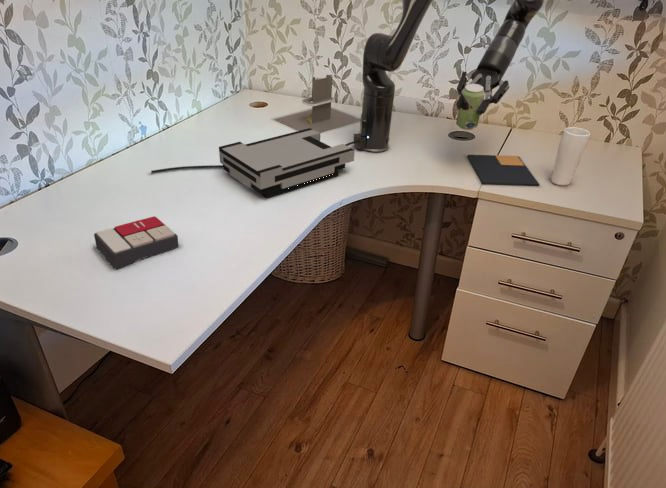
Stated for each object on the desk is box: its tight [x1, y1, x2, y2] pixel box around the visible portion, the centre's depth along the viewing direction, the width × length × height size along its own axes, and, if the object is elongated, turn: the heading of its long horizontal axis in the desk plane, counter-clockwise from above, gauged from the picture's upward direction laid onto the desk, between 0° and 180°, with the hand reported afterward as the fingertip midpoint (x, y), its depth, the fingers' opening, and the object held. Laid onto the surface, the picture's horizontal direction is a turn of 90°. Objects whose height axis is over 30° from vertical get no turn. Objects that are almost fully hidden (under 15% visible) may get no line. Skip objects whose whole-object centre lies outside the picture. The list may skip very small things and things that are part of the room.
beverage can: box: [455, 83, 485, 131], centre depth 148 cm, size 6×7×12 cm
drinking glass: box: [550, 126, 591, 187], centre depth 147 cm, size 7×7×15 cm
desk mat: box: [466, 154, 540, 187], centre depth 158 cm, size 16×20×1 cm
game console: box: [218, 128, 356, 200], centre depth 150 cm, size 21×32×8 cm, turn 127°
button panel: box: [93, 215, 179, 269], centre depth 118 cm, size 11×4×15 cm
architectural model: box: [273, 74, 361, 134], centre depth 185 cm, size 20×25×15 cm
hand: (468, 110), depth 147 cm, fingers closed on beverage can, 5 cm apart
